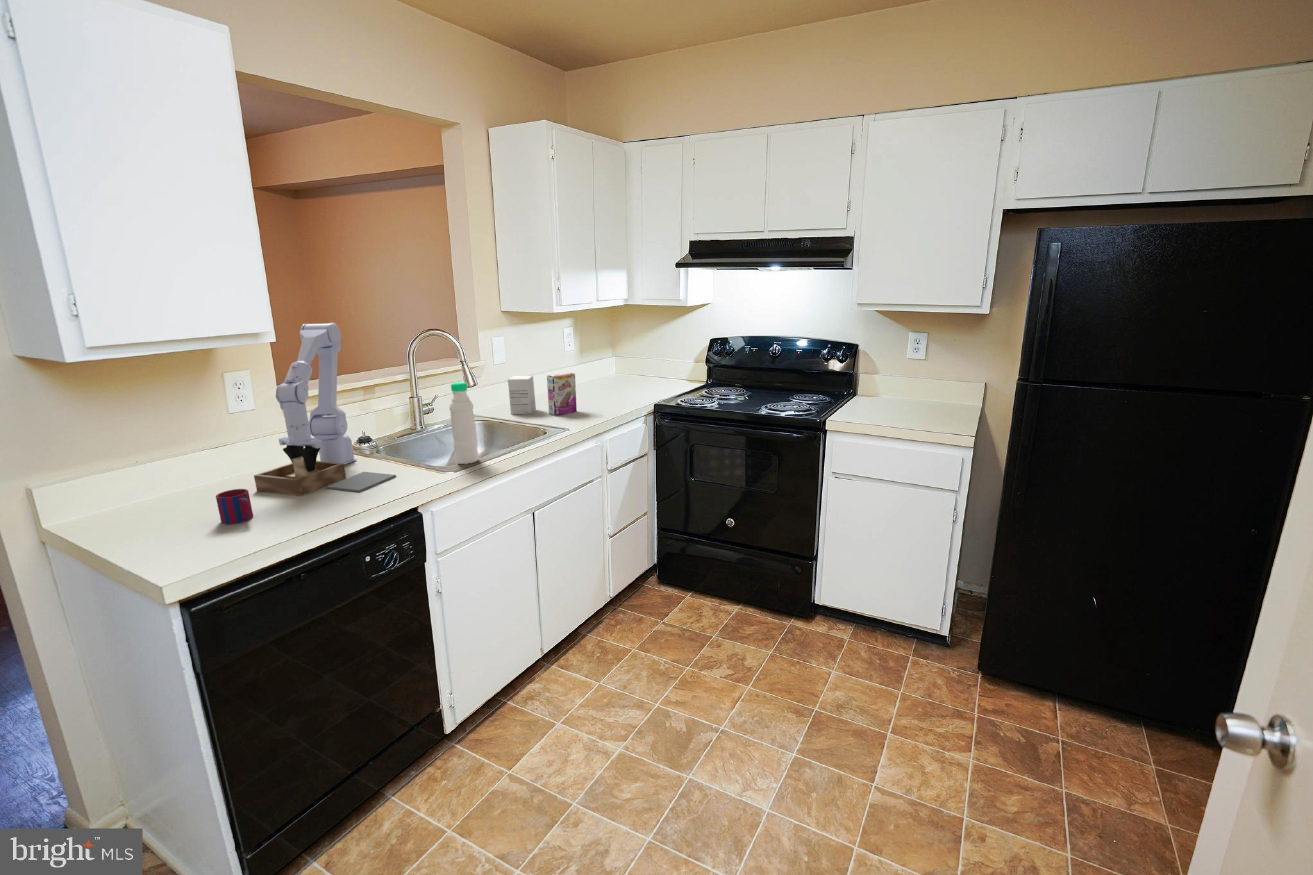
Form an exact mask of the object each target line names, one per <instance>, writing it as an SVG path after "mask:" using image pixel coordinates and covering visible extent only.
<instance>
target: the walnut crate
mask: <svg viewBox="0 0 1313 875" xmlns="http://www.w3.org/2000/svg"><path fill="white" fill-rule="evenodd" d="M316 469H317V472H315V473H312V474H309V475H306V476H295V472H294V466H293V463H292V462H291V463H288V464H285V465H281V466H278V467H276V468H273V469H269V470H267V471H263V472H260V473H258V474H255V475H253V477H254V478H253V479H254V483H255V488H256V491H257V492H265V493H271V494H272V493H273V494H280V495H288V496H295V497H298V496H299V497H301V496H304V495H306V494H308V493H311V492H314V491H317V490H319V489H321V488H325V487H326V486H328V485H331V484H333V483H336V482H339V481H341V480H344V479H346V478H347V476H346V470H345V465H344V463H334V462H324V461H319V460H316Z"/></svg>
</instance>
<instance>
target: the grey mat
mask: <svg viewBox="0 0 1313 875" xmlns="http://www.w3.org/2000/svg"><path fill="white" fill-rule="evenodd" d="M396 477H397V474H391V473H390V474H389V473H382V472H381V473H379V472H371V471H370V472H369V471H363V472H360V473H357V474H353V475H351V476H349V477H346V478H345V479H342V480H340V481H337V482H335V483H332V484H329V485H327V486H325V489H329V490H336V491H345V492H354V493H360V492H363V491H366V490H368V489H371V488H373V487H375V486H378V485H380V484H382V483H384V482H387V481H390V480H391V479H394V478H396Z"/></svg>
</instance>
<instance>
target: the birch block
mask: <svg viewBox="0 0 1313 875" xmlns="http://www.w3.org/2000/svg"><path fill="white" fill-rule="evenodd" d="M292 460H293V466H294V472H295V476H306V475H309V474H312V473H315V472H317V469H316V466H315V470H313V471H310V472H308V471H307V469H306V465H305V461H304V459H303V456H300V457H297V458H294V459H292Z"/></svg>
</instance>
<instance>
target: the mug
mask: <svg viewBox="0 0 1313 875" xmlns="http://www.w3.org/2000/svg"><path fill="white" fill-rule="evenodd" d="M249 492H250V491H249V490H248V489H247V488H237V489H236V488H235V489H229V490H225V491H222V492H219V493H217V494H216V495H215V499H216V503H217V510H218V513H219V518H220V523H221V524H223V525H235V524H241V523H244V521H245V522H248V521H250V520H252V519H253V517H254V514H253V507H252V503H251V499H250V493H249ZM249 519H250V520H249ZM240 522H241V523H240Z"/></svg>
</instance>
